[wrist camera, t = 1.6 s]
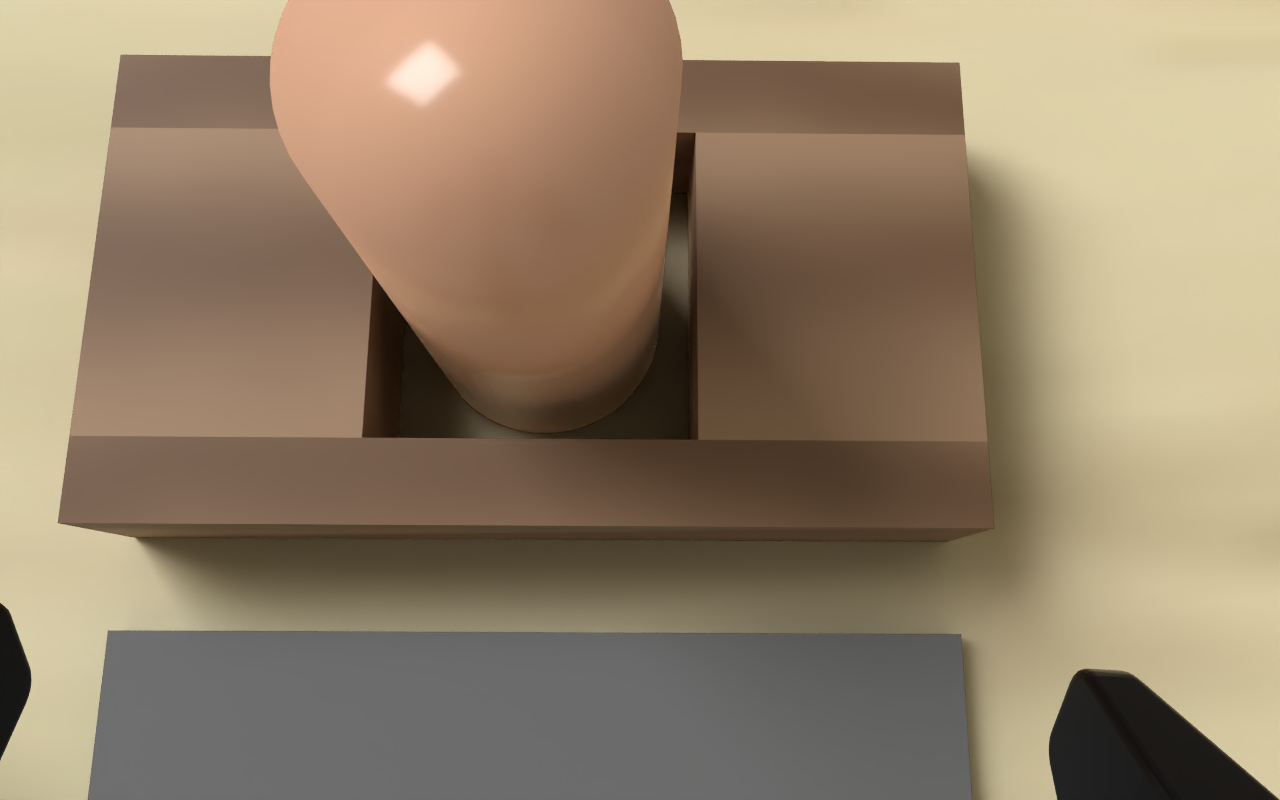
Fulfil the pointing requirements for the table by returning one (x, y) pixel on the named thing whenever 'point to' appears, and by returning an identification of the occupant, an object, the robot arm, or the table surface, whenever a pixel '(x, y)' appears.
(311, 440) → the well block
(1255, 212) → the table surface
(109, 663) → the mat
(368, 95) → the pink tall rounded piece
